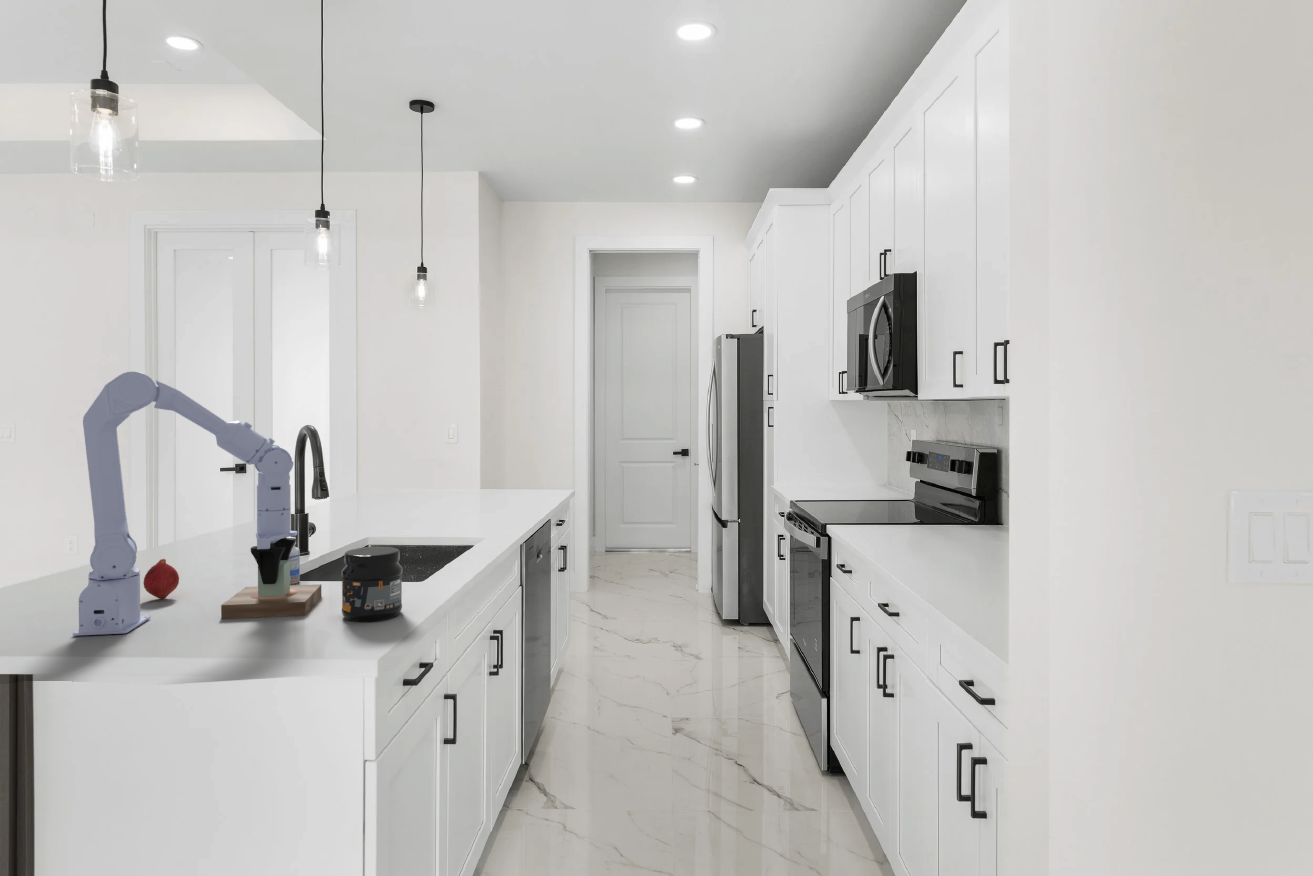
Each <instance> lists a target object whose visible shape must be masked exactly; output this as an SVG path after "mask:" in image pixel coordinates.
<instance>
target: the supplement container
mask: <svg viewBox="0 0 1313 876" xmlns="http://www.w3.org/2000/svg"><path fill="white" fill-rule="evenodd" d="M400 554H401V553H400V550H399V549H398V548H395V547H391V546H366V547H359V548H353V549H349V550H346V552H344V559H343V562H344V565H345V566H344V567H343V569H342V570H341V573H340V575H341V577H342V578H341V590H342V591H341V597H342V598H341V599H342V600H341V604H342V605H341V614H342V616H343V617H344V618H345V619H346V620H348V621H351V622H352V621H353V622H357V623H358V622H359V623H360V622H361V623H369V622H371V623H372V622H379V621H385V620H389V619H391V618H395V617H396V616H398V615H399V614H400V613H401V612H402V610H403V603H402V602H403V601H402V600H403V599H402V587H403V586H402V583H403V581H402V579H403V578H402V576H403V567H402V565H401V564H400V563H399V561H400V559H401V558H400ZM394 616H395V617H394Z"/></svg>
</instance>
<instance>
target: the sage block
mask: <svg viewBox="0 0 1313 876" xmlns="http://www.w3.org/2000/svg"><path fill="white" fill-rule="evenodd" d="M257 587H258V597H278V596H285V595H286V594H287V593H288V592H289V591H290V560H280V564H279V570H278V577H277V581H276V583H275V584H263V582H262V579H261V575H260V571H259V567H258V566H257Z"/></svg>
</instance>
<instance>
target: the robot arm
mask: <svg viewBox="0 0 1313 876" xmlns="http://www.w3.org/2000/svg"><path fill="white" fill-rule="evenodd" d="M155 382H156V383H155ZM154 402H155V404H154V406H153V407H154V409H156V410H157V409H159V410H163V411H164V410H165V411H172V412H175V413H176V414H178V415H179V416H181V417H182V418H185V419H187V420H188V421H190V422H192V423H194V424H195V425H197V426H199V427H201V428H202V429H204V430H205V431H207V432H209V433H210V434H213V435H214V436H215V440H216V445H217V446H218V448H221V449H222V450H224V451H225V452H227V453H229V454H230V455H232V456H234V457H235V458H237V459H238V460H240V461H242V462H243V463H245V464H247V465H250V466H251V465H254V467H255V469H256V470H257V485H256V533H255V538H256V545H253V546H252V547H250V553H251V555H252V556H253V558H254V560H255V563H256V564H257V568H258V567H259V571H260V575H261V579H262V582H263V584H275V583H276V581H277V577H278V570H279V564H280V560H288V559H289V556H290V553H291V550H292V548H293V546H294V544H295V542H296V543H297V538H296V536H297V535H298V530H291V527H292V526H291V524H292V523H291V517H292V516H291V513H292V511H291V509H292V508H291V502H292V501H291V484H290V481H291V475H290V472H291V471H292V469H293V467H294V461H293V460H292V459H293V458H292V456H291V453H289V452H288V450H286V449H284V448H282V447H280V445H276V444H275V442H276V441H275V440H274V439H272V438H271V437H270V438H266V437H265V436H263V435H261V434H260V433H258V432H257V431H256V430H254V429H252V428H253V425H252V424H251V423H249V422H247V421H245V422H244V423H243V422H241V421H240V420H233V421H226V420H224V419H222V418H221V417H220V416H218V415H217V414H215V413H214V412H212V411H210V409H207V408H206V407H205V406H203V405H201V404H200V403H198V402H197V401H195V400H194V399H193V398H191V397H190V396H188V395H186V394H185V393H183V392H182V391H181V390H179V389H177V388H174V387H172V386H171V385H168V384H166V383H163V382H161V381H159V380H157V379H156V380H155V381H154V380H153V378H151V377H150V376H149V375H147V374H145V373H143V372H140V371H135V370H134V371H126V372H123V373H120V374H119V375H118V376H116V377H115V378H113V379H112V380H111V381H109V382H107V383H106V384H105V385H104V387H103V388H102V389H101V391H100V392H99V394H98V395H97V396H96V398H95V399H94V401H93V402H92V404H91V405H90V407H89V408H88V409H87V411H86V412H85V413H84V415H83V417H82V419H83V420H82V426H83V427H82V428H83V435H84V444H85V452H86V454H85V455H86V461H87V471H88V478H89V479H88V480H89V481H88V482H89V488H90V489H89V490H90V498H91V506H92V513H93V516H92V517H93V524H94V525H93V527H94V528H93V529H94V534H93V535H94V536H93V537H94V547H93V549H92V552H91V554H90V558H89V563H90V567H91V568H92V571H90V572H89V573H88V576H87V577H88V579H87V580H88V584H87V585H86V587H85V588H84V589H83V590H82V591H81V593H80V595H79V597H78V629H77V630H75V631H73V632H72V636H74V637H75V636H94V635H95V636H97V635H99V636H100V635H113V634H114V635H118V634H120V635H121V634H127V633H129V632H130V631H132V630H134V629H135V628H137V627H139V626H141V625H142V624H143V623H145V622H147V621H148V620H150V619H151V615H141V569H140V568H137V567H136V566H135V564H136V561H137V552H138V546H137V543H136V541H135V540H134V539H133V538H132V536H131V535H130V532H129V525H128V524H129V523H128V518H127V512H126V511H127V509H126V502H125V493H124V483H123V475H122V465H121V456H120V447H119V438H118V430H117V429H118V427H119V426H120V425H122V423H124V422H125V420H126V419H128V418H129V417H130V416H131V414H133V413H134V412H138V411H139V410H141V409H144V408H145V407H147V406H149V405H150V404H152V403H154ZM286 537H295V538H286Z"/></svg>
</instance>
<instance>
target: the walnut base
mask: <svg viewBox="0 0 1313 876" xmlns="http://www.w3.org/2000/svg"><path fill="white" fill-rule="evenodd" d="M321 597H322V584H320V583H319V584H296V585H295V584H291V585H290V591H289V592H288V593H287V594H286V595H285V596H278V597H258V586H244V587H243V588H242V589H241V590H240V591H238V592H236V594H234V595H233V596H231V597H230V598H229V599H228V600H226V601H224V602H223V603H222V604H221V605H220V608H221V609H220V613H221V615H220V619H222V620H224V619H225V620H226V619H229V620H230V619H249V618H250V619H251V618H269V617H270V618H271V617H291V616H292V617H293V616H294V617H296V616H297V617H298V616H306V615H307V613H309V611H310V610H311V609H312V608H313V607H314V606H315V604H316V603H317V602H318V601H319V600H320V599H321Z"/></svg>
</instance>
